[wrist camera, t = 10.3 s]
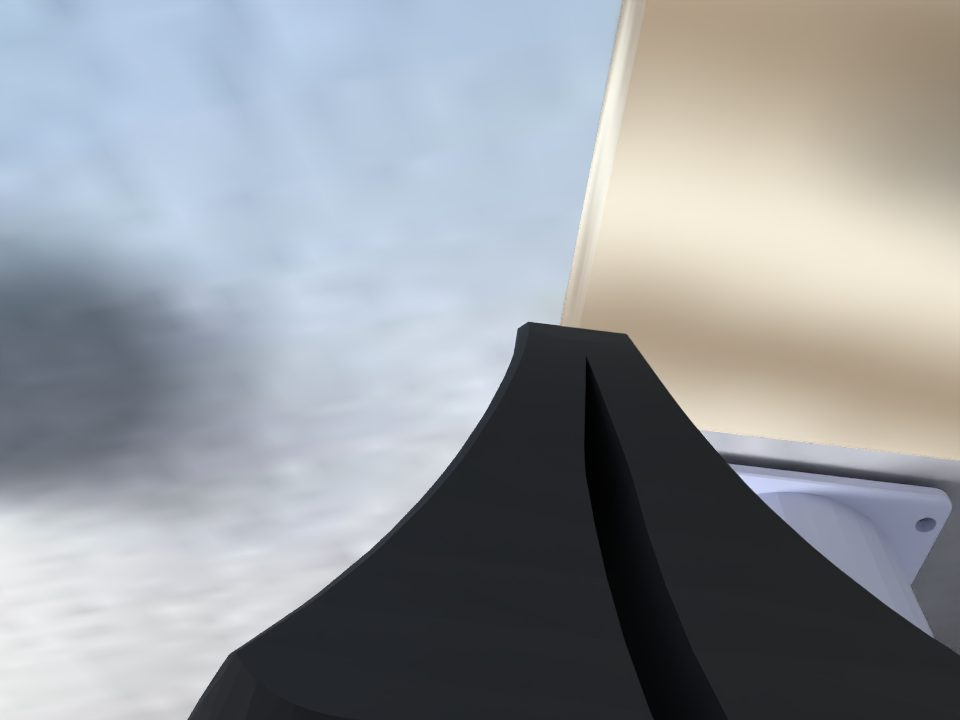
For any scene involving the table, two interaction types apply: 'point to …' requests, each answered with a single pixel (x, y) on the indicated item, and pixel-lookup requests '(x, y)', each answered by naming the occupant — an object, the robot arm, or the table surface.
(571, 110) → the table surface
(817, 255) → the board
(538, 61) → the table surface
